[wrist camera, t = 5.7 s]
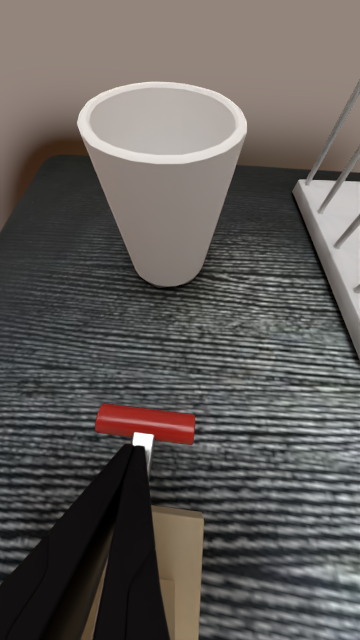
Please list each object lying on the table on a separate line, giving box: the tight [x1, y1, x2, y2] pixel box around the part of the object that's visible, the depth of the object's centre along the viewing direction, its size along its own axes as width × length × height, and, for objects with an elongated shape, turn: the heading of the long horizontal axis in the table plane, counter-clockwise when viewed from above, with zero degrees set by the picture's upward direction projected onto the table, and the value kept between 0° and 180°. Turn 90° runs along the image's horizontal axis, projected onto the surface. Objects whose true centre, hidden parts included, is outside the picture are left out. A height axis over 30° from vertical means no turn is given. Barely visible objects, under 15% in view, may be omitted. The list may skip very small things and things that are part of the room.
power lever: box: [91, 403, 195, 640], centre depth 8 cm, size 12×5×2 cm, turn 173°
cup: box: [77, 82, 247, 288], centre depth 18 cm, size 10×10×13 cm
